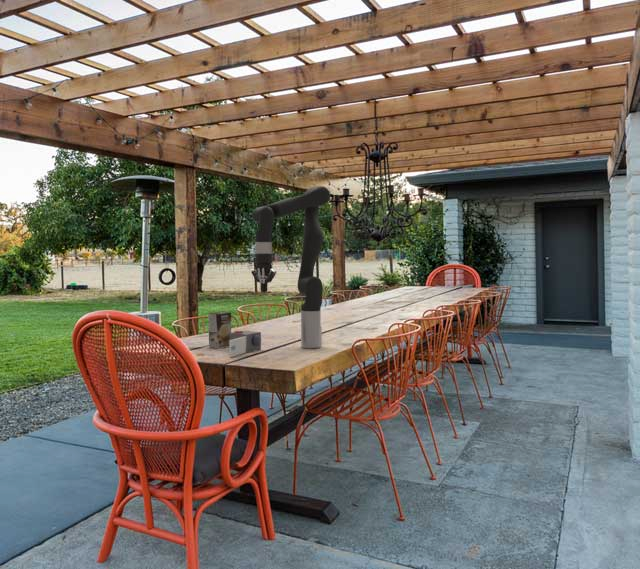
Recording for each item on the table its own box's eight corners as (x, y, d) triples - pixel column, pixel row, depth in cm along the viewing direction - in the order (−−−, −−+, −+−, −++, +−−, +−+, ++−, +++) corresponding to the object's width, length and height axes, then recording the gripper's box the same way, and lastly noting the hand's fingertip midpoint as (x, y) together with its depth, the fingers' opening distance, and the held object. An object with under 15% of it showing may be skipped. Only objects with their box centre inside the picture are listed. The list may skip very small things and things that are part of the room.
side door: (229, 356, 237) (229, 340, 237) (245, 351, 250) (245, 335, 249) (232, 357, 237) (232, 340, 236) (248, 352, 249) (248, 335, 249)
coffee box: (218, 348, 261) (217, 314, 260) (208, 347, 265) (207, 313, 264) (232, 345, 269) (231, 312, 268) (222, 344, 272) (221, 311, 271)
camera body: (244, 347, 263) (244, 328, 263) (263, 349, 257) (263, 330, 256) (230, 350, 255) (230, 331, 255) (249, 352, 249) (249, 333, 248)
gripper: (246, 252, 246) (246, 292, 247) (269, 252, 238) (270, 293, 239) (257, 252, 252) (258, 291, 253) (280, 252, 244) (281, 292, 245)
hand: (264, 292), depth 246 cm, fingers closed
